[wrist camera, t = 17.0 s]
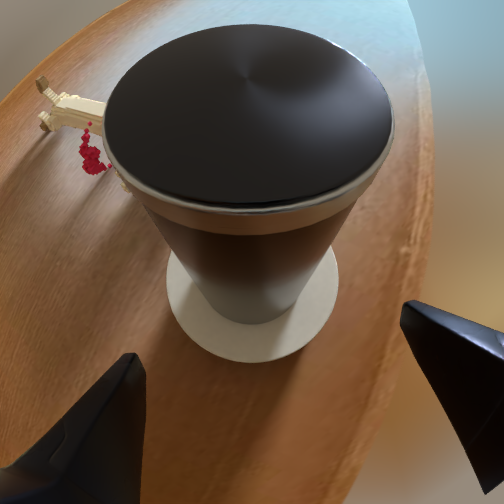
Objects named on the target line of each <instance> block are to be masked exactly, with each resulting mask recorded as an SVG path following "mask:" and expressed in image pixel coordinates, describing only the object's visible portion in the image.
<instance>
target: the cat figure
mask: <svg viewBox="0 0 504 504" xmlns="http://www.w3.org/2000/svg"><path fill="white" fill-rule="evenodd" d="M35 81H36V86H37V89H38V90H39V92H40V93H41V94H42V95H43V96H44V97H45V98H46V99H48V100H49V101H50V102H51V103H52V104H53V106H52V109H51V113H50V115H49V114H47V113H46V112H44V111H43V112H42V113H41V114H40V115H39V116H38V117H39V118H40V120H41V121H42V123H41V125H40V127H41V129H42V130H43V131H46V130H47V129H48V130H50V131H58V130H59V129H60V128H61V127H62V125H64V126H66V125H67V126H70V127H73V128H80V129H83V130H84V131H85V134H84V135H83V136H82V137H81V139H82V140H83V143H82V145H81V146H80V151H79V153H80V154H81V156H82V157H83V158H84V159H85V160H84V161H83V164H84V165H83V166H82V168H83V169H84V170H85V172H86V173H88V174H92V175H94V174H98V173H99V172H100V173H101V171H103V170H104V171H106V170H107V168H106V166H105V165H104V163H102V162H101V163H100V161H99V160H98V158H99V157H100V156H99V154H100V150H98V149H97V148H96V147H95V146H94V147H91V146H90V147H88V146H89V145H88V144H87V143H88V142H89V139H90V135H89V134H87V133H88V132H91V133H94V134H96V135H99V136H102V118H103V114H104V110H105V106H106V104H107V103H103V102H98V101H94V100H89V99H84V98H80V96H77V95H72V96H71V95H69V94H67V93H66V92H62V93H61V94H60V95H59V96H58V95H56V93H54V92H53V91H52V90H51V89H50V88H49V87H48V85H49V82H48V80H47V78H46V77H44V75H41V76H40V77H38V78H37V79H36V80H35ZM99 163H100V164H99ZM108 167H109V168H111V167H112V165H111V164H110V163H109V164H108ZM115 174H116V175H117V177H119V178H120V176H119V174H118V173H117V171H116V172H115ZM120 185H121V186H122V188H123V189H124V190H125V191H126V192H128V193H130V191H129V190H128V189H127V187H126V186H125V184H124V182H122V183H121V184H120Z"/></svg>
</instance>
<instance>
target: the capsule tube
mask: <svg viewBox="0 0 504 504" xmlns="http://www.w3.org/2000/svg"><path fill="white" fill-rule="evenodd" d="M394 132H395V119H394V111H393V108H392V105H391V101H390V99H389V97H388V95H387V93H386V91H385V89H384V87H383V86H382V84H381V83H380V81H379V80H378V79H377V77H376V76H375V75H374V73H373V72H372V71H371V70H370V69H369V68H368V67H367V66H366V65H365V64H364V63H363V62H361V61H360V60H359V59H358V58H357V57H355V56H354V55H352V54H351V53H350V52H348V51H347V50H345V49H343V48H342V47H340V46H338V45H336V44H334V43H332V42H330V41H328V40H326V39H323V38H321V37H318V36H316V35H313V34H310V33H307V32H303V31H299V30H296V29H291V28H286V27H280V26H272V25H258V24H243V25H229V26H221V27H215V28H210V29H206V30H201V31H197V32H194V33H191V34H188V35H185V36H182V37H180V38H177V39H175V40H172V41H170V42H168V43H166V44H164V45H162V46H160V47H158V48H157V49H155V50H154V51H152V52H150V53H149V54H147V55H146V56H145V57H143V58H142V59H141V60H139V61H138V62H137V63H136V64H135V65H134V66H132V67H131V68H130V69H129V70H128V71H127V72H126V74H125V75H124V76H123V77H122V78H121V79H120V81H119V82H118V84H117V85H116V87H115V88H114V90H113V92H112V93H111V95H110V97H109V99H108V102H107V104H106V106H105V110H104V114H103V118H102V139H103V145H104V148H105V151H106V154H107V156H108V158H109V160H110V161H111V163H112V165H113V166H114V168H115V170H116V171H117V173H118V174H119V176H120V178H121V179H122V181H123V182H124V184H125V186H126V187H127V189H128V190H129V191H130V192H131V193H132V194H133V195H134V196H135V197H136V198H137V199H138V200H139V201H140V202H141V203H142V204H143V206H144V207H145V209H146V211H147V212H148V214H149V215H150V217H151V218H152V220H153V222H154V223H155V225H156V226H157V228H158V229H159V231H160V232H161V234H162V236H163V237H164V239H165V240H166V242H167V243H168V245H169V246H170V248H171V249H172V251H173V252H174V254H175V255H176V257H177V258H178V260H179V261H180V262H181V264H182V265H183V267H184V268H185V270H186V271H187V273H188V274H189V276H190V277H191V279H192V280H193V281H194V283H195V284H196V286H197V287H198V289H199V290H200V291H201V293H202V294H203V296H204V297H205V298H206V300H207V301H208V303H209V304H210V305H211V306H212V308H213V309H214V310H215V311H216V312H218V313H219V314H220V315H222V316H223V317H225V318H227V319H228V320H231V321H233V322H236V323H240V324H248V325H256V324H263V323H266V322H270V321H272V320H274V319H276V318H278V317H280V316H281V315H283V314H284V313H285V312H286V311H288V310H289V308H290V307H291V306H292V305H293V304H294V302H295V301H296V299H297V298H298V296H299V295H300V293H301V292H302V290H303V289H304V287H305V285H306V284H307V282H308V281H309V279H310V278H311V276H312V274H313V273H314V271H315V270H316V268H317V266H318V265H319V263H320V262H321V260H322V258H323V257H324V255H325V253H326V252H327V250H328V249H329V247H330V245H331V244H332V242H333V240H334V239H335V237H336V235H337V234H338V232H339V230H340V228H341V227H342V225H343V223H344V222H345V220H346V218H347V217H348V215H349V213H350V211H351V210H352V208H353V206H354V204H355V203H356V201H357V199H358V198H359V197H360V196H361V195H362V194H363V193H364V191H365V190H366V189H367V188H368V187H369V186H370V185H371V183H372V182H373V180H374V178H375V176H376V175H377V173H378V171H379V170H380V168H381V166H382V164H383V162H384V161H385V159H386V157H387V155H388V153H389V152H390V149H391V146H392V143H393V139H394Z"/></svg>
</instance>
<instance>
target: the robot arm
mask: <svg viewBox="0 0 504 504" xmlns="http://www.w3.org/2000/svg"><path fill="white" fill-rule="evenodd" d="M400 327H401V329H402V331H403V333H404V335H405V337H406V340H407V342H408V344H409V346H410V348H411V350H412V352H413V355H414V357H415V359H416V360H417V363H418V364H419V366H420V368H421V369H422V371H423V373H424V375H425V376H426V378H427V380H428V382H429V383H430V385H431V387H432V389H433V390H434V392H435V394H436V395H437V397H438V399H439V401H440V403H441V405H442V407H443V408H444V410H445V412H446V414H447V416H448V418H449V420H450V422H451V424H452V426H453V427H454V430H455V431H456V434H457V435H458V437H459V440H460V442H461V444H462V446H463V447H464V450H465V452H466V454H467V456H468V459H469V461H470V463H471V465H472V467H473V469H474V472H475V474H476V476H477V478H478V481H479V483H480V485H481V488H482V490H483V492H484V494H485V495H486V494H487V493H489V492H490V491H491V490H493V489H494V488H495V487H497V486H498V485H499V484H500V483H502V482H503V481H504V333H502V332H499V331H496V330H494V329H491V328H489V327H486V326H483V325H481V324H478V323H476V322H473V321H470V320H468V319H465V318H462V317H460V316H457V315H454V314H452V313H449V312H446V311H444V310H441V309H438V308H435V307H433V306H430V305H427V304H425V303H422V302H419V301H417V300H410V301H407V302H405V303H404V304H403V306H402V312H401V318H400ZM145 423H146V372H145V369H144V367H143V365H142V363H141V361H140V359H139V357H138V355H137V354H136V353H125V354H123V355H122V356H121V357H120V358H119V359H118V360H117V361H116V362H115V363H114V364H113V365H112V366H111V367H110V368H109V369H108V370H107V371H106V372H105V373H104V374H103V375H102V376H101V377H100V378H99V379H98V381H97V382H96V383H95V384H94V385H93V386H92V387H91V388H90V389H89V390H88V391H87V392H86V393H85V394H84V395H83V396H82V397H81V398H80V399H79V400H78V401H77V402H76V403H75V404H74V405H73V406H72V407H71V408H70V409H69V410H68V411H67V412H66V413H65V415H64V416H63V417H62V418H61V419H60V420H59V421H58V422H57V423H56V424H55V425H54V426H53V427H52V428H51V429H50V430H49V431H48V432H47V433H46V434H45V435H44V436H43V437H42V438H40V439H39V440H38V441H37V442H36V443H35V444H34V445H33V446H31V447H30V448H29V449H28V450H27V451H26V452H25V453H23V454H22V455H21V456H20V457H19V458H18V459H16V460H15V461H14V462H13V463H11V464H10V465H8V466H6V467H3V468H0V504H140V488H141V470H142V456H143V444H144V433H145Z"/></svg>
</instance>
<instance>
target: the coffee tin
mask: <svg viewBox="0 0 504 504" xmlns="http://www.w3.org/2000/svg"><path fill="white" fill-rule="evenodd" d="M166 289H167V295H168V300H169V303H170V306H171V309H172V312H173V314H174V316H175V318H176V320H177V322H178V323H179V324H180V326H181V327H182V329H183V330H184V331H185V333H186V334H187V335H188V336H189V337H190V338H191V339H192V340H193V341H194V342H196V343H197V344H198V345H199V346H201V347H202V348H204V349H205V350H207V351H209V352H210V353H212V354H215V355H217V356H219V357H222V358H225V359H228V360H232V361H237V362H245V363H260V362H267V361H272V360H276V359H279V358H282V357H285V356H287V355H289V354H292V353H294V352H296V351H297V350H299V349H300V348H302V347H303V346H305V345H306V344H307V343H308V342H310V341H311V340H312V339H313V338H314V337H315V336H316V335H317V334H318V333H319V332H320V330H321V329H322V328H323V326H324V325H325V323H326V322H327V320H328V318H329V316H330V314H331V312H332V310H333V307H334V304H335V301H336V297H337V291H338V268H337V263H336V259H335V255H334V253H333V250H332V248H331V245H330V247H329V249H328V250H327V252H326V253H325V255H324V257H323V258H322V260H321V262H320V263H319V265H318V266H317V268H316V270H315V271H314V273H313V274H312V276H311V278H310V279H309V281H308V282H307V284H306V285H305V287H304V289H303V290H302V292H301V293H300V295H299V296H298V298H297V299H296V301H295V302H294V304H293V305H292V306H291V307H290V308H289V310H288V311H286V312H285V313H284V314H283V315H281V316H280V317H278V318H276V319H274V320H272V321H270V322H266V323H263V324H256V325H248V324H240V323H236V322H233V321H231V320H228V319H227V318H225V317H223V316H222V315H220V314H219V313H218V312H216V311H215V310H214V309H213V308H212V306H211V305H210V304H209V303H208V301H207V300H206V298H205V297H204V296H203V294H202V293H201V291H200V290H199V289H198V287H197V286H196V284H195V283H194V281H193V280H192V279H191V277H190V276H189V274H188V273H187V271H186V270H185V268H184V267H183V265H182V264H181V262H180V261H179V260H178V258H177V257H176V255H175V254H174V252H173V251H171V254H170V257H169V261H168V265H167V272H166Z"/></svg>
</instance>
